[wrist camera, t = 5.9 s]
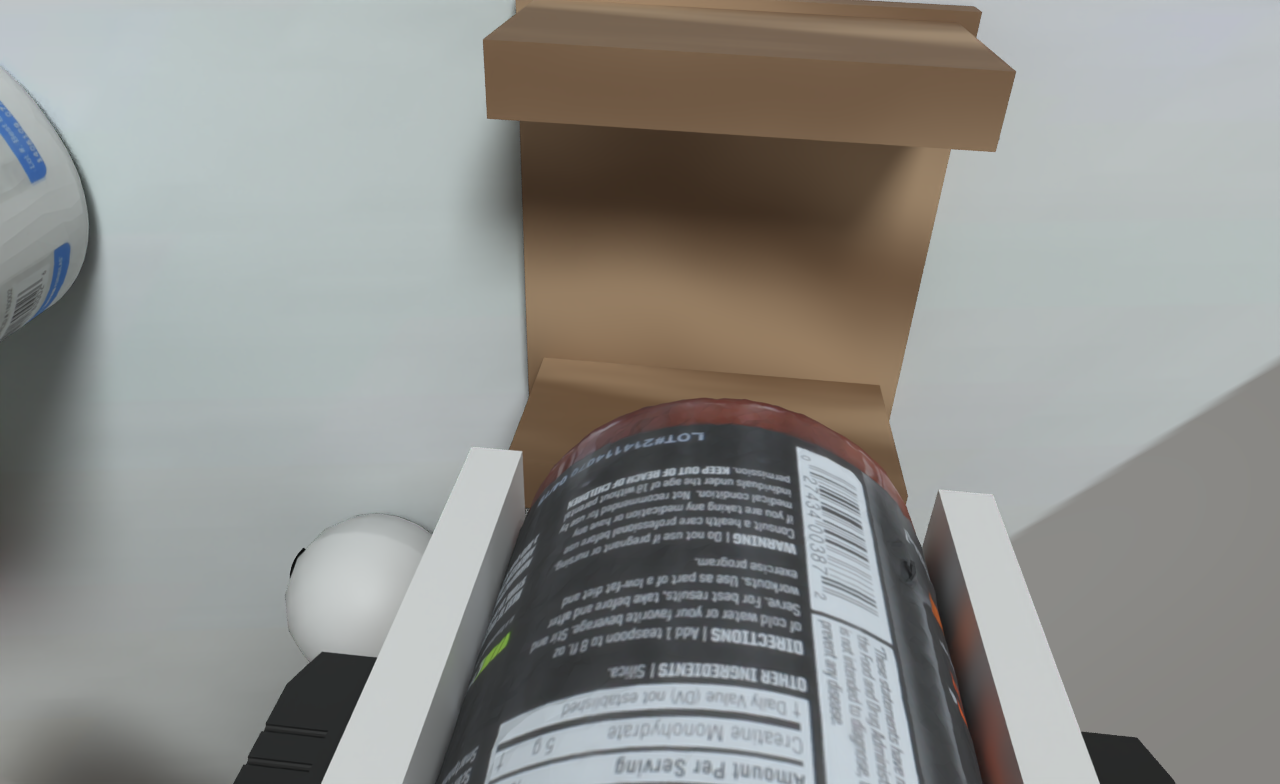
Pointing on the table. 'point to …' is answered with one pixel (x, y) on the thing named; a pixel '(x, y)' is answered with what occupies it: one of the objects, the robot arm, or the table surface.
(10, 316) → the supplement tub
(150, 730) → the table surface
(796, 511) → the supplement bottle
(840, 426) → the holder cradle
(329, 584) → the white oval egg shape
